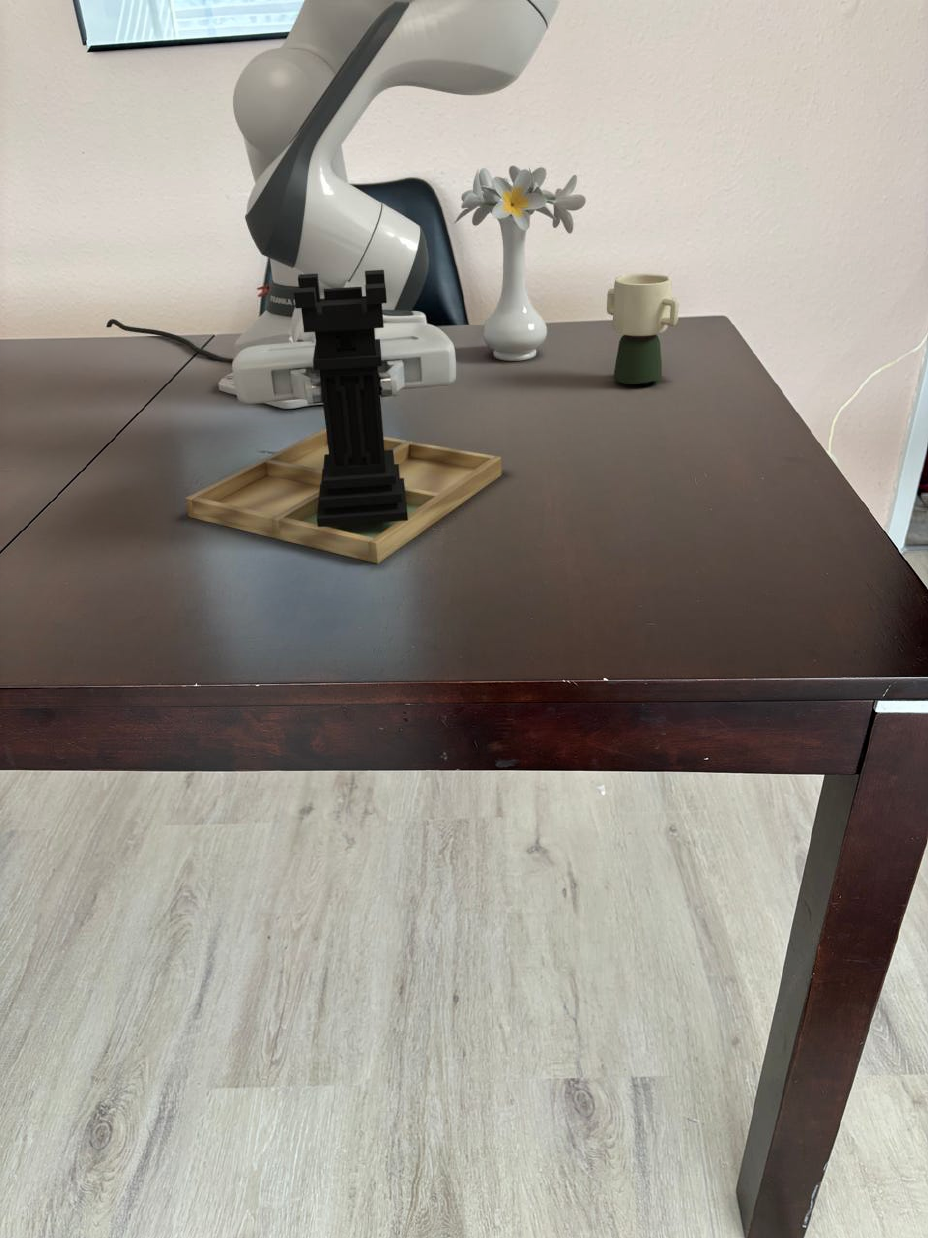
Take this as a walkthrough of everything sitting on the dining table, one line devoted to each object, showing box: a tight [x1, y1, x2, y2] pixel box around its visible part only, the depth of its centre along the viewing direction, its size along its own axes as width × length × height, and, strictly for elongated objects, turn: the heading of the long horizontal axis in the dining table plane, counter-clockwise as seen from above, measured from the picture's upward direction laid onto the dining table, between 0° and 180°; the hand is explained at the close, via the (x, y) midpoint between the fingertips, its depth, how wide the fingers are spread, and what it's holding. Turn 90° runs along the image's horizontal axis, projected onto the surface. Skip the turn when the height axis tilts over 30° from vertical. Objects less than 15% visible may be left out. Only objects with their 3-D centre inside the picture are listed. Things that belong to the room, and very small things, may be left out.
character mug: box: [606, 273, 680, 386], centre depth 121 cm, size 11×7×13 cm, turn 43°
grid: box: [184, 427, 502, 564], centre depth 95 cm, size 22×22×2 cm
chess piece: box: [294, 270, 408, 527], centre depth 83 cm, size 8×8×20 cm
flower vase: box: [453, 165, 587, 362], centre depth 132 cm, size 13×18×25 cm
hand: (352, 391), depth 82 cm, fingers closed on chess piece, 5 cm apart
